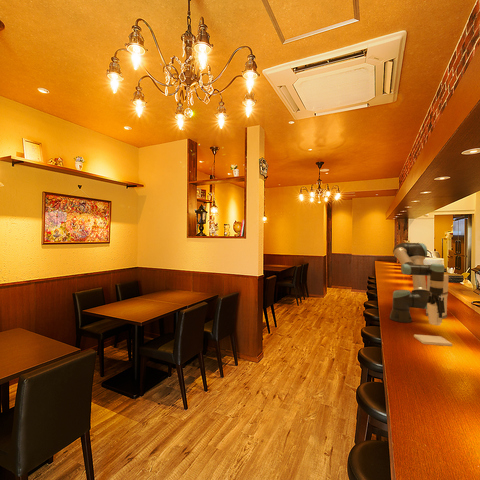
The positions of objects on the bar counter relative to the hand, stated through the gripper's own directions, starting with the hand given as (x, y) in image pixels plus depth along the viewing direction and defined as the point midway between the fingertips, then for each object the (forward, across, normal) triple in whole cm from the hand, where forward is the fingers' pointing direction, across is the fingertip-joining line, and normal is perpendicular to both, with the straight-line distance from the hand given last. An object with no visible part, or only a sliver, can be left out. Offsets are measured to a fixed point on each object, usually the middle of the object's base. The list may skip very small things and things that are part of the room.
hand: (435, 319), depth 182 cm
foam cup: (+3, 0, 0) cm, 3 cm away
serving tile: (+10, +14, -8) cm, 19 cm away
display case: (+11, -48, +26) cm, 56 cm away
